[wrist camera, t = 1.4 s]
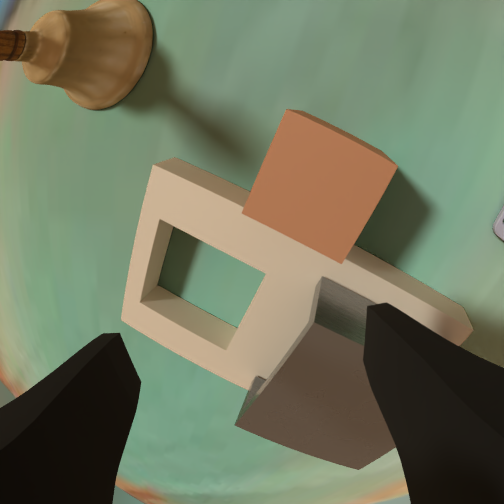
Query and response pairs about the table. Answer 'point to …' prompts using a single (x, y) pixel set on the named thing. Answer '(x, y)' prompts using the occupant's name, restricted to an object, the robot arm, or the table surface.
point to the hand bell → (85, 51)
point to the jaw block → (318, 184)
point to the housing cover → (322, 387)
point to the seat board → (270, 290)
